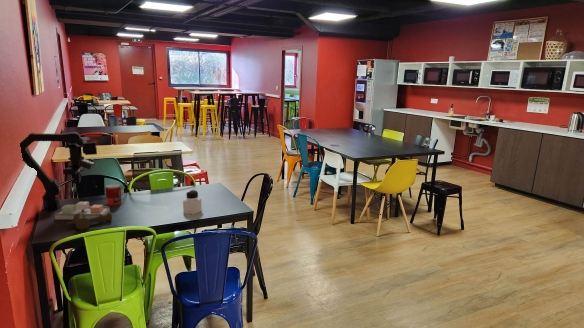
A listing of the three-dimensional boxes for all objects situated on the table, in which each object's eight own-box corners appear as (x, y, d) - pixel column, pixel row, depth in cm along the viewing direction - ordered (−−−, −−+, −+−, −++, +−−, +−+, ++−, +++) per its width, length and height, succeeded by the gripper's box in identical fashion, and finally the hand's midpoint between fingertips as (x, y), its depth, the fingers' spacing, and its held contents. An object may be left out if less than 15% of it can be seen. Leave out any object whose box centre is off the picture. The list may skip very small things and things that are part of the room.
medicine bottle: (201, 211, 209) (201, 190, 206) (194, 215, 202) (193, 193, 200) (190, 209, 211) (190, 188, 209) (183, 213, 205) (182, 192, 202)
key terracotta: (90, 212, 195) (90, 207, 194) (94, 209, 199) (93, 204, 199) (99, 212, 195) (99, 207, 195) (103, 209, 200) (102, 204, 199)
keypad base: (55, 219, 191) (54, 212, 190) (67, 211, 202) (66, 204, 201) (100, 219, 192) (99, 212, 192) (109, 211, 204) (109, 204, 203)
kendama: (114, 224, 188) (68, 232, 175) (109, 219, 195) (64, 226, 183) (113, 213, 187) (67, 220, 174) (108, 208, 194) (63, 214, 182)
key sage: (62, 212, 194) (61, 207, 193) (66, 209, 198) (66, 204, 198) (71, 212, 194) (70, 207, 194) (75, 209, 199) (75, 204, 198)
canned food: (116, 206, 211) (114, 187, 209) (103, 205, 213) (102, 186, 210) (124, 202, 218) (123, 184, 216) (112, 201, 220) (111, 183, 218)
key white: (76, 209, 194) (75, 204, 193) (80, 206, 199) (79, 201, 198) (85, 209, 194) (84, 204, 194) (89, 206, 199) (88, 201, 198)
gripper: (83, 159, 196) (86, 188, 200) (98, 152, 215) (100, 178, 218) (61, 158, 196) (64, 188, 199) (78, 152, 214) (80, 178, 217)
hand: (78, 183), depth 208 cm, fingers closed
